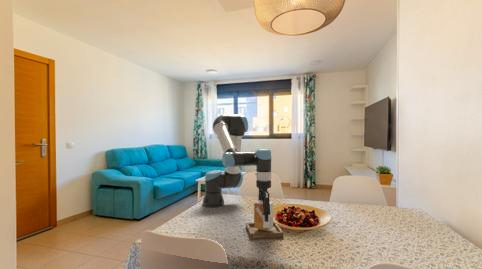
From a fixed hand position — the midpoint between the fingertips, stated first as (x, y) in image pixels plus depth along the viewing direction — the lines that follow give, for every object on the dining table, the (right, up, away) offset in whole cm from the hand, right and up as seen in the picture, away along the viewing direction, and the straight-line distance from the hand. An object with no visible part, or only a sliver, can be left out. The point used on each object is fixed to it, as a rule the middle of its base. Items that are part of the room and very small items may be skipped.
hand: (263, 223), depth 118 cm
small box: (0, -2, 0) cm, 2 cm away
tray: (0, -5, 0) cm, 5 cm away
